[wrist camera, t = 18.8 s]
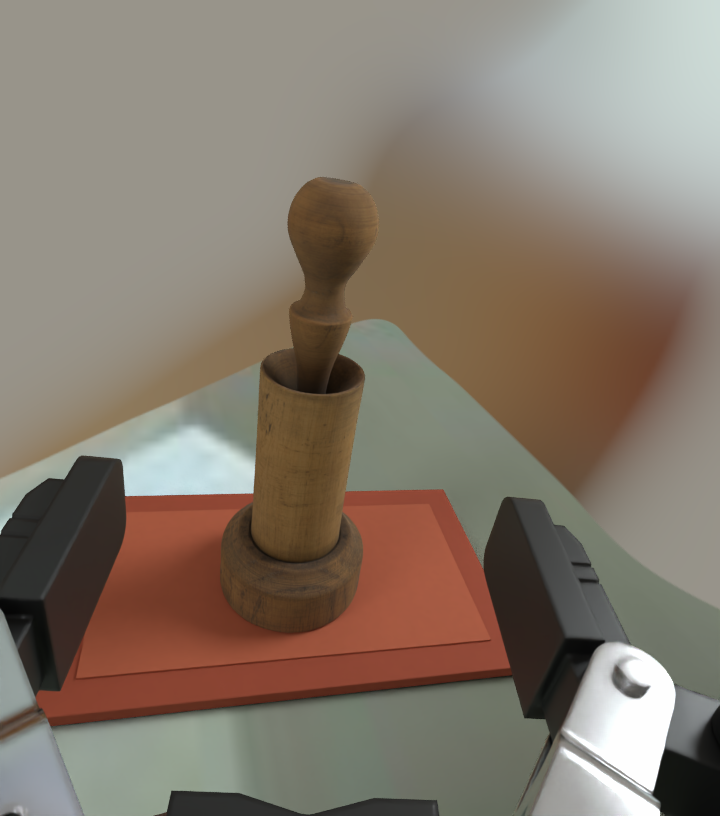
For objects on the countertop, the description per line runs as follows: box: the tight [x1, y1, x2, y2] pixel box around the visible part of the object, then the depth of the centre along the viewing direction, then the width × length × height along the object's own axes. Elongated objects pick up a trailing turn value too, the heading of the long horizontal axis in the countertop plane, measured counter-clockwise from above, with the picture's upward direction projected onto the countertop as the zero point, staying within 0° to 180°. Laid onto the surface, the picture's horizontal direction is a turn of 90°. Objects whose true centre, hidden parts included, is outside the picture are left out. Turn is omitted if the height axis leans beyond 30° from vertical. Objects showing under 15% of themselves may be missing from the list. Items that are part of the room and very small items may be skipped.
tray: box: [36, 489, 512, 726], centre depth 29 cm, size 20×12×1 cm, turn 102°
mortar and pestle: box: [220, 177, 379, 633], centre depth 24 cm, size 7×6×18 cm
